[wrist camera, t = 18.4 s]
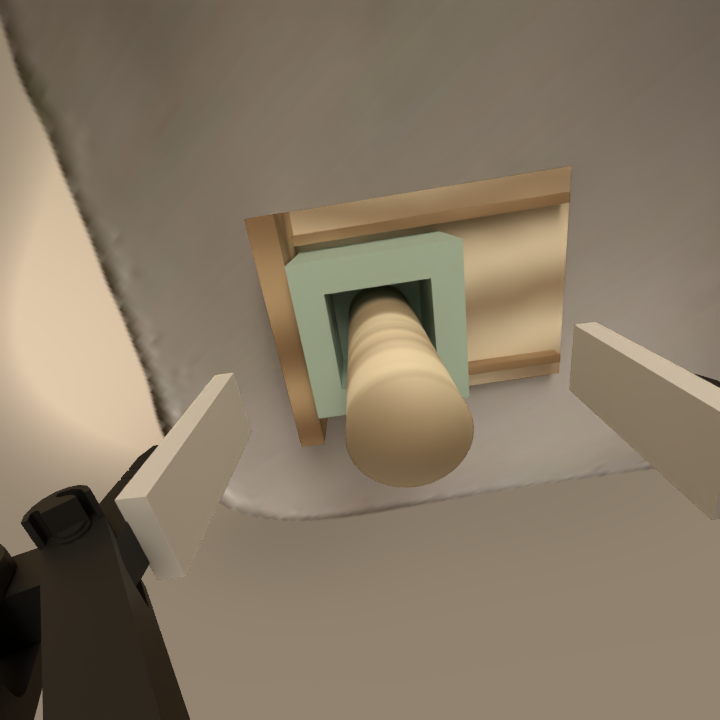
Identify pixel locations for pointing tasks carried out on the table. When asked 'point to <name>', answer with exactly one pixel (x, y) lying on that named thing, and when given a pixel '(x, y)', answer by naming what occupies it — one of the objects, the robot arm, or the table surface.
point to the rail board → (481, 271)
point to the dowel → (400, 395)
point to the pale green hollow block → (371, 269)
